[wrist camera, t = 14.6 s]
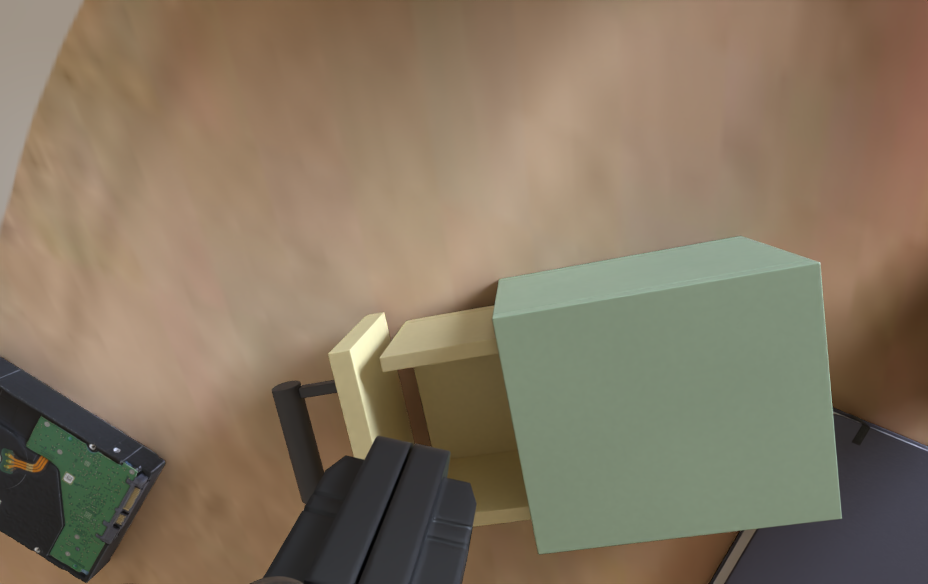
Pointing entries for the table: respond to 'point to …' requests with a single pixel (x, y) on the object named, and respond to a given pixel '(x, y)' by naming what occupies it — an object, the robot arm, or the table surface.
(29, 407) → the disk drive
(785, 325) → the cabinet
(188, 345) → the table surface
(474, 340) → the drawer
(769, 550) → the notebook
